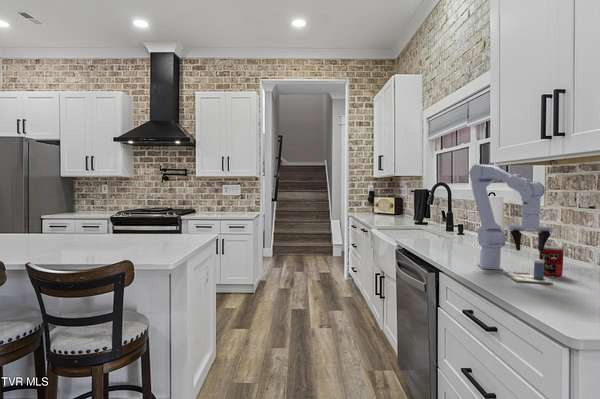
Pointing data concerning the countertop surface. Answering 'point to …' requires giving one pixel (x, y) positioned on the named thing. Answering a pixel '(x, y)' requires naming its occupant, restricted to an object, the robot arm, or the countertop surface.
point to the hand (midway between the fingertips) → (529, 250)
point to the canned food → (552, 260)
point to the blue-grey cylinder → (538, 269)
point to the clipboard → (526, 278)
